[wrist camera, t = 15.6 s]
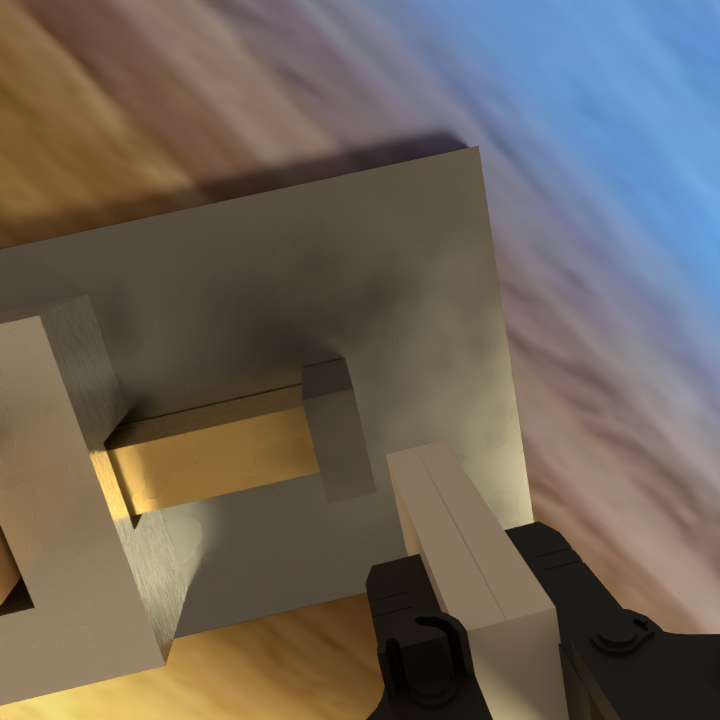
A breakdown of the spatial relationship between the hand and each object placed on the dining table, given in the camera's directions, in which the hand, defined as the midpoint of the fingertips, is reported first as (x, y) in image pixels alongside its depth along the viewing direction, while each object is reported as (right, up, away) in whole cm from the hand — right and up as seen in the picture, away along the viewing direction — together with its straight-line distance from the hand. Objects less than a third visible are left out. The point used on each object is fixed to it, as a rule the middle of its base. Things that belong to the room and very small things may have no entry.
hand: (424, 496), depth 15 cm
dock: (-10, 0, +8) cm, 13 cm away
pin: (-7, +1, +7) cm, 10 cm away
